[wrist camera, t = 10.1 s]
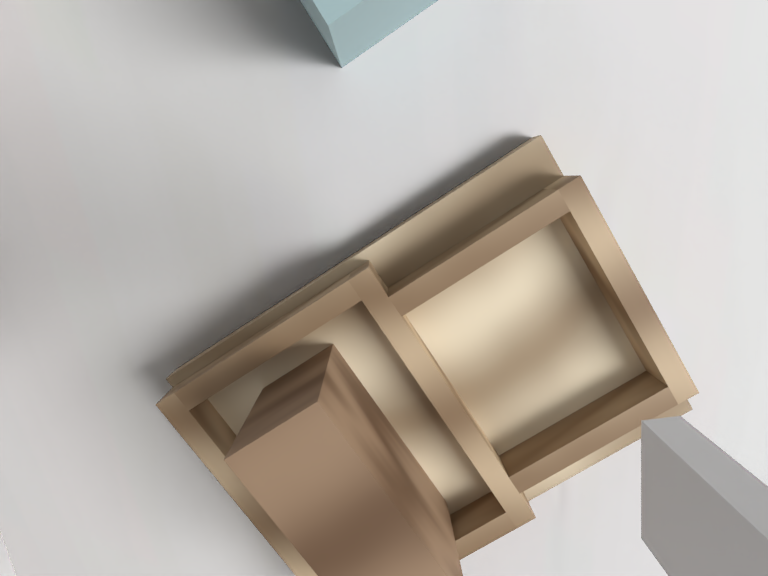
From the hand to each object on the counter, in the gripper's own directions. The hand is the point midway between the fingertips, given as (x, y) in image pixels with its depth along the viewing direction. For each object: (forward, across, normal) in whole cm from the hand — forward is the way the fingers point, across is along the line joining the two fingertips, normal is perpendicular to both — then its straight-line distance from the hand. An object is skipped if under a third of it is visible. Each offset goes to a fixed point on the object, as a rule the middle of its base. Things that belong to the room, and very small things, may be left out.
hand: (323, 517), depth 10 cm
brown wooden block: (+13, -1, -6) cm, 14 cm away
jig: (+14, +4, -4) cm, 15 cm away
